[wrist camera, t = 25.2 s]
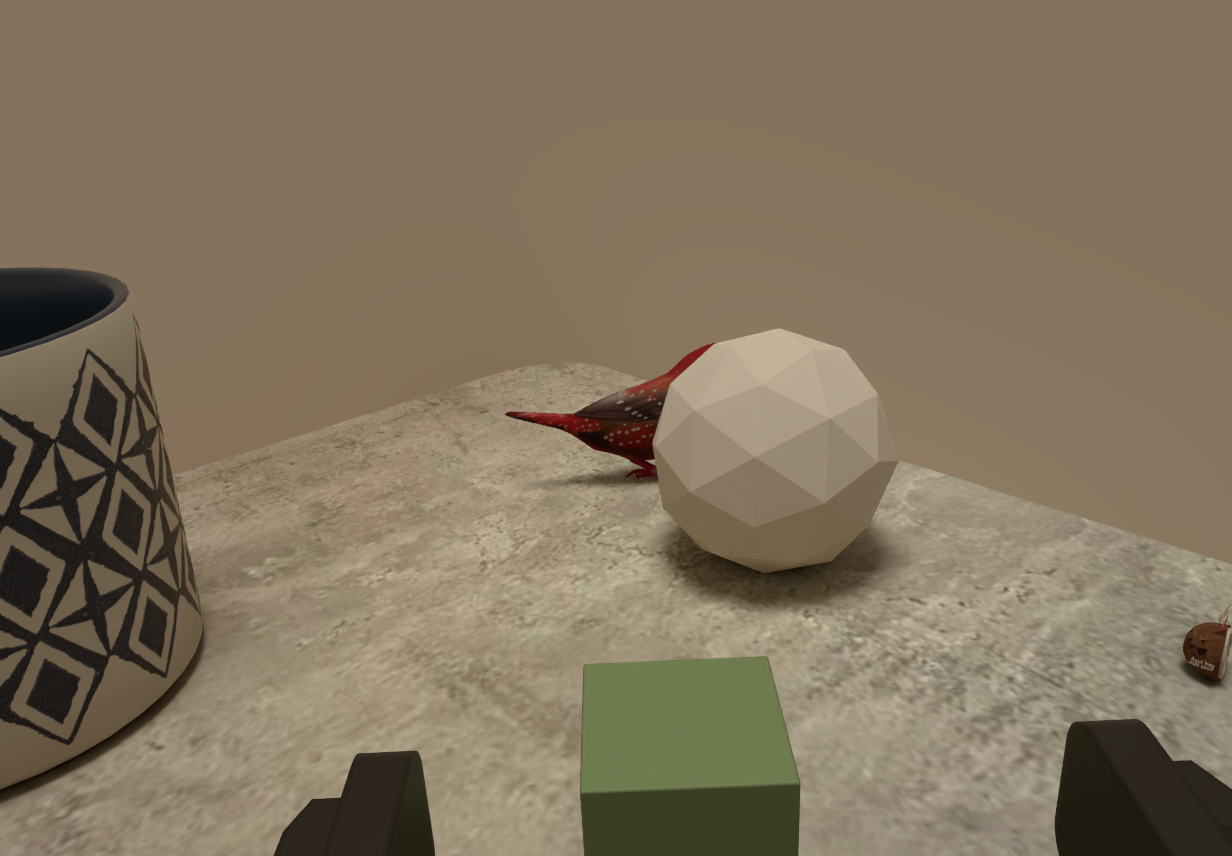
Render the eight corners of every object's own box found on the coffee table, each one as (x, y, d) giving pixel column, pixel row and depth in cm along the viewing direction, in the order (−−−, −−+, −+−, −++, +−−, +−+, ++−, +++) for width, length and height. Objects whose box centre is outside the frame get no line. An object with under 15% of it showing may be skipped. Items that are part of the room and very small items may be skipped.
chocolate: (1189, 648, 55) (1202, 582, 53) (1236, 664, 53) (1251, 597, 52) (1170, 674, 53) (1182, 606, 51) (1218, 692, 51) (1232, 622, 50)
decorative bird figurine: (752, 475, 77) (753, 346, 73) (513, 500, 75) (501, 368, 71) (742, 460, 80) (742, 334, 76) (510, 483, 77) (499, 355, 74)
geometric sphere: (791, 655, 64) (775, 558, 52) (628, 511, 72) (579, 395, 59) (940, 500, 68) (958, 373, 55) (769, 377, 75) (751, 240, 63)
